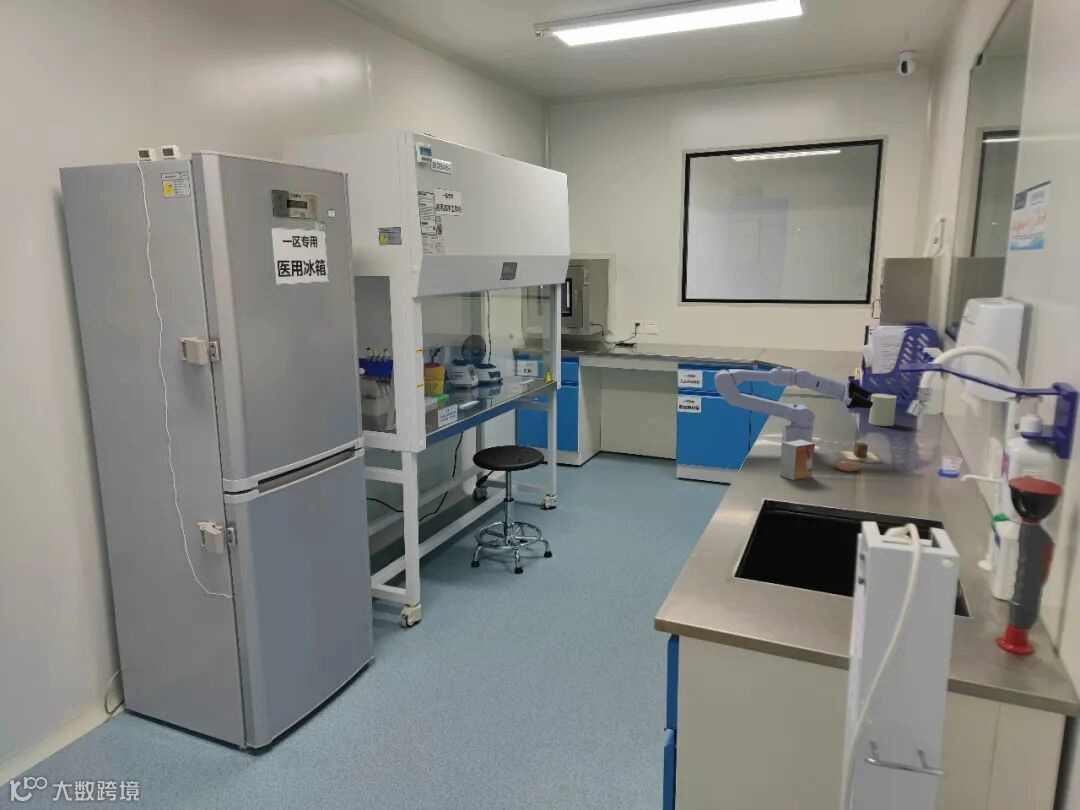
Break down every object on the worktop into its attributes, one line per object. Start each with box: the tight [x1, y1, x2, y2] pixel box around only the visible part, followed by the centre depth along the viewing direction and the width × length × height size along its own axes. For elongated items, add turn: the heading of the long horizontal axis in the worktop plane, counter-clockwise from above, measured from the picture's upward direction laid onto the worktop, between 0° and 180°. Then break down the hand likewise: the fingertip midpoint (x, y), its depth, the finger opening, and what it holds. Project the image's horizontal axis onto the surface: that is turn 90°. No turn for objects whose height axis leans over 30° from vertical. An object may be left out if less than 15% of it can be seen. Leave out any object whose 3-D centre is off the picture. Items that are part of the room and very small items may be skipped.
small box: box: [779, 440, 816, 481], centre depth 207 cm, size 8×6×10 cm
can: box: [868, 393, 898, 427], centre depth 274 cm, size 9×9×12 cm
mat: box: [831, 451, 890, 466], centre depth 225 cm, size 14×12×1 cm
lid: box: [838, 442, 882, 463], centre depth 225 cm, size 10×10×5 cm
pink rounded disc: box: [834, 458, 861, 473], centre depth 213 cm, size 7×7×3 cm
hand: (870, 400), depth 227 cm, fingers open, 7 cm apart
